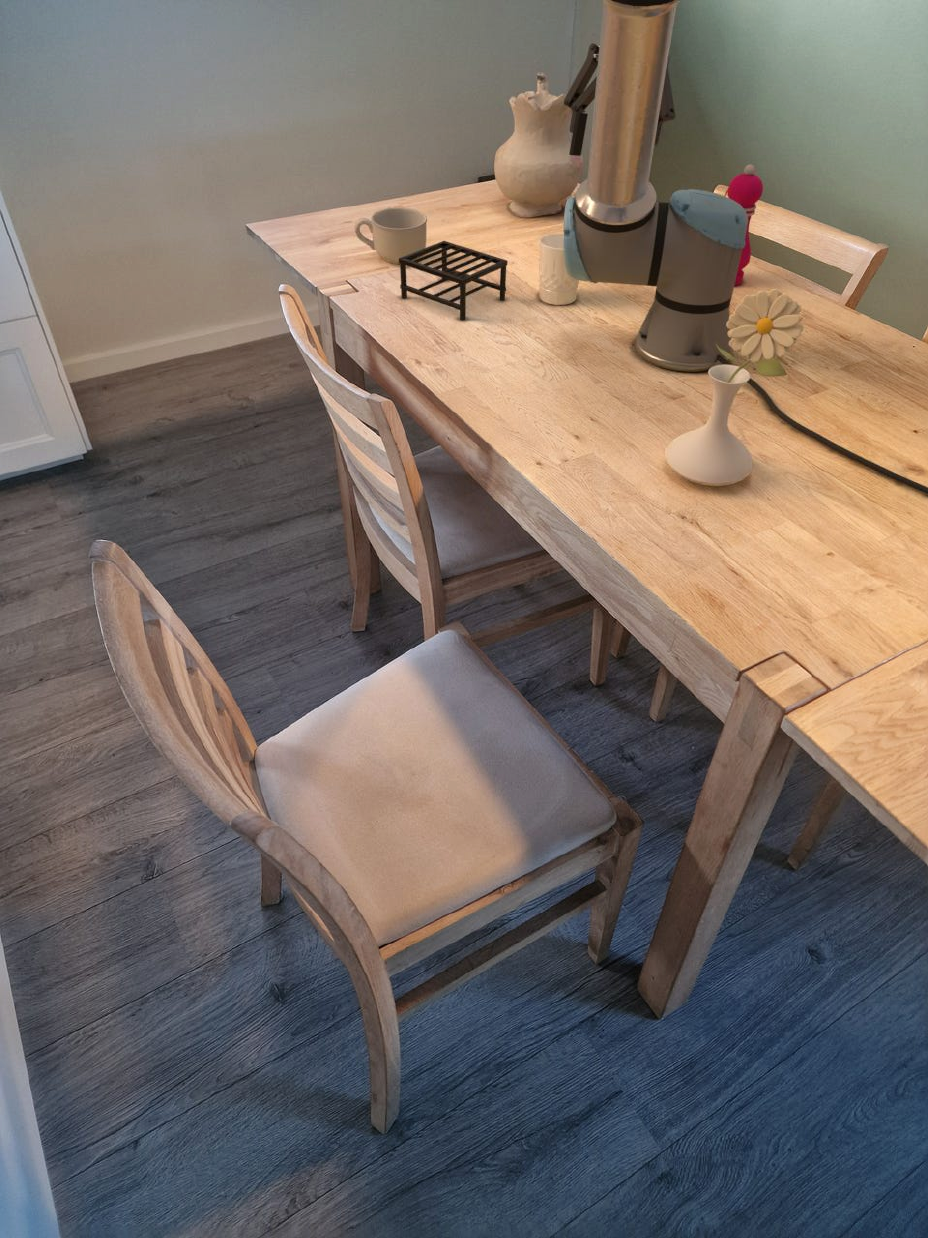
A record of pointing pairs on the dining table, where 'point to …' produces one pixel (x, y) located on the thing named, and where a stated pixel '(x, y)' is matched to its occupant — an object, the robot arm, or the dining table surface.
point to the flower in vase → (737, 388)
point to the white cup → (555, 272)
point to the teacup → (395, 232)
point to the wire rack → (452, 273)
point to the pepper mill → (745, 207)
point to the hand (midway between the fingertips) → (608, 161)
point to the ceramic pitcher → (538, 154)
